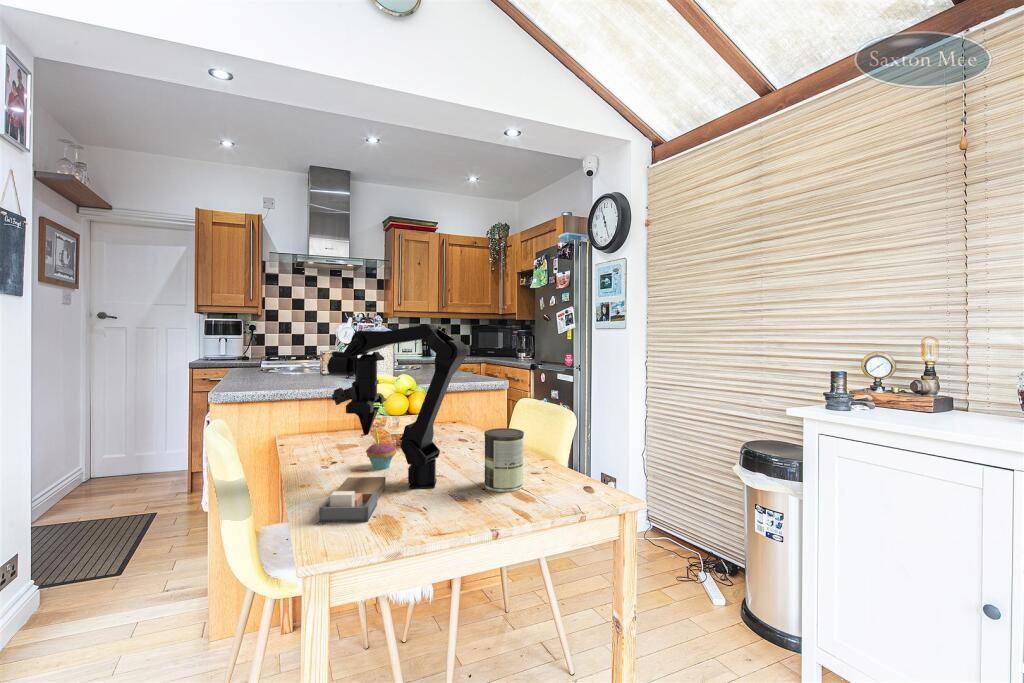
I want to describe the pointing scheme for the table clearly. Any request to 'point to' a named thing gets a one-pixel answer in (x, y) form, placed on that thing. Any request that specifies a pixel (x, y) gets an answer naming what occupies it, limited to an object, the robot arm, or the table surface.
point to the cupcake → (380, 454)
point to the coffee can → (503, 459)
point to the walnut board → (364, 486)
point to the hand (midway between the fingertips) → (366, 434)
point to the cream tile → (342, 499)
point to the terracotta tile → (358, 499)
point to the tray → (347, 511)
